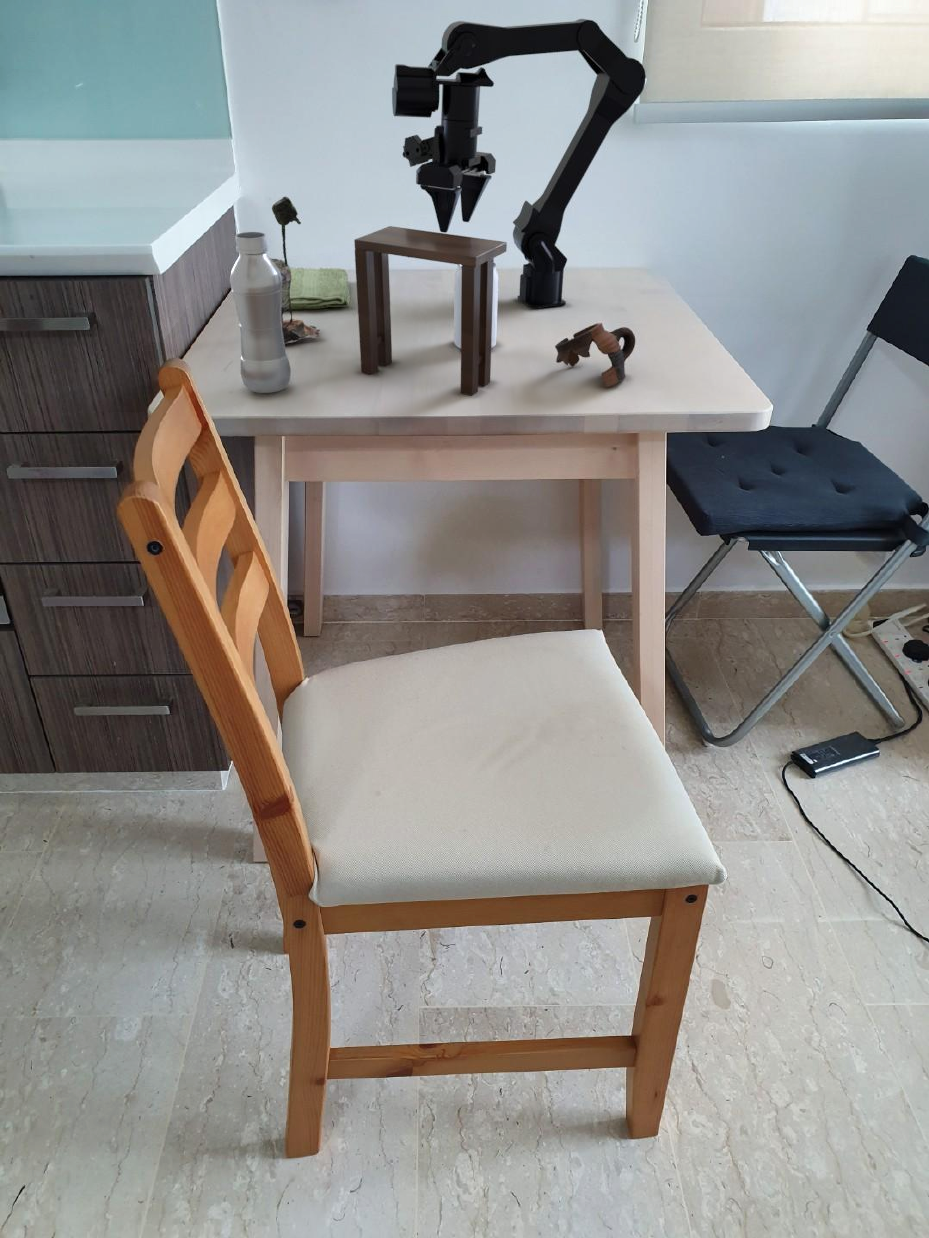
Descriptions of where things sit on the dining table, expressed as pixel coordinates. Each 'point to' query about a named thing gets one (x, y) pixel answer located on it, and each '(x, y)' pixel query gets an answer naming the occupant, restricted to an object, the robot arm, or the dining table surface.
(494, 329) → the can
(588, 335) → the brown jagged looped part
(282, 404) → the dining table surface
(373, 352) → the desk
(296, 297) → the washcloth
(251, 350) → the plastic bottle
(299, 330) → the plant with pod
